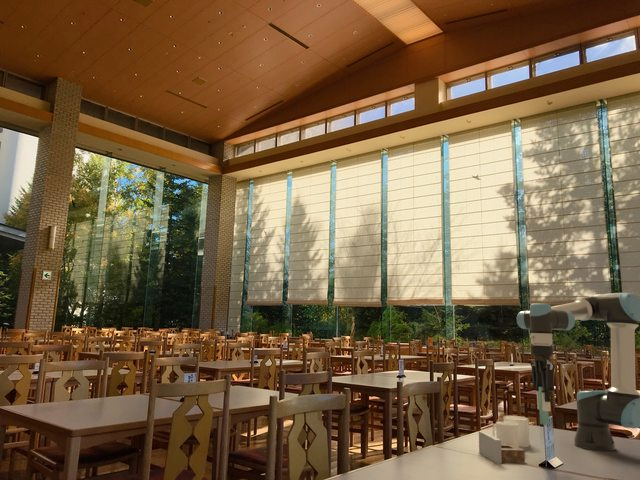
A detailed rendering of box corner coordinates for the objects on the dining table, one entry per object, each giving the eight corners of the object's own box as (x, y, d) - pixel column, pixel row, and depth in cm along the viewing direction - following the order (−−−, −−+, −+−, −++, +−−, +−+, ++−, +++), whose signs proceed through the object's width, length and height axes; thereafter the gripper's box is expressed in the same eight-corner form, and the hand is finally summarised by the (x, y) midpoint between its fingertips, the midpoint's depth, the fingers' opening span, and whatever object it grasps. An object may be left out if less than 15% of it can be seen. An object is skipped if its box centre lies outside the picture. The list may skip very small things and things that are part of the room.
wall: (484, 452, 199) (483, 431, 200) (501, 463, 183) (501, 440, 184) (479, 452, 198) (478, 431, 200) (496, 463, 183) (495, 440, 184)
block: (512, 455, 196) (512, 444, 197) (525, 461, 187) (524, 450, 187) (487, 454, 196) (487, 443, 196) (498, 461, 186) (498, 449, 187)
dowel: (546, 423, 188) (544, 386, 191) (550, 424, 186) (549, 387, 188) (538, 423, 188) (537, 386, 190) (542, 424, 185) (541, 387, 187)
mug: (501, 439, 226) (500, 413, 228) (525, 440, 224) (524, 415, 226) (506, 445, 213) (505, 419, 215) (532, 447, 211) (531, 420, 213)
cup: (507, 452, 200) (507, 425, 202) (485, 446, 211) (485, 420, 213) (523, 451, 204) (522, 424, 205) (500, 444, 214) (500, 419, 216)
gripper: (521, 344, 199) (523, 406, 195) (543, 345, 184) (545, 413, 180) (540, 344, 200) (542, 407, 196) (563, 346, 184) (565, 414, 180)
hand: (543, 410), depth 188 cm, fingers closed on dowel, 3 cm apart
